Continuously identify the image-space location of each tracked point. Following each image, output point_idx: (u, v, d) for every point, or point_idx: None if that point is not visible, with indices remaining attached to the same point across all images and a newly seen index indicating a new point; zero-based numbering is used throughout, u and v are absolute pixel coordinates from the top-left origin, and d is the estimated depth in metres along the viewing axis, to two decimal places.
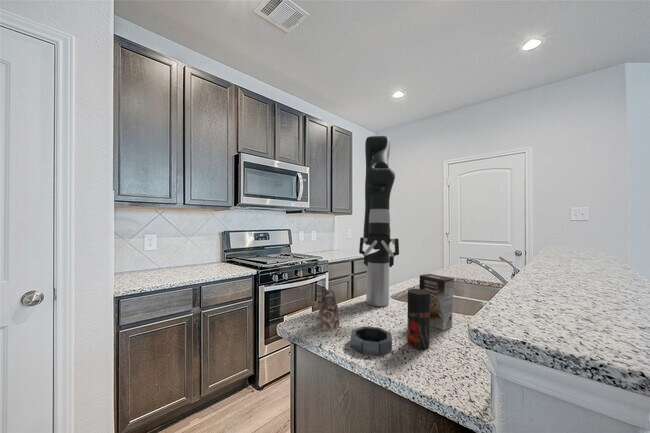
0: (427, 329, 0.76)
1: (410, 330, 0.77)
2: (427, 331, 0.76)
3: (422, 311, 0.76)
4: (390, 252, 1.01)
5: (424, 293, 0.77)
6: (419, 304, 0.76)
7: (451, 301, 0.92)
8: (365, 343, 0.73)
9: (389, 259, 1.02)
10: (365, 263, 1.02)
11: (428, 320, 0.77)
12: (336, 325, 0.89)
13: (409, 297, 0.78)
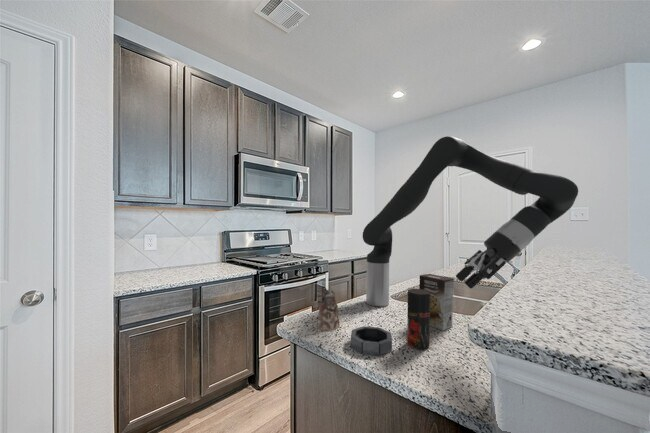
0: (427, 329, 0.76)
1: (410, 330, 0.77)
2: (427, 331, 0.76)
3: (422, 311, 0.76)
4: None
5: (424, 293, 0.77)
6: (419, 304, 0.76)
7: (451, 301, 0.92)
8: (365, 343, 0.73)
9: (463, 271, 0.80)
10: None
11: (428, 320, 0.77)
12: (336, 325, 0.89)
13: (409, 297, 0.78)
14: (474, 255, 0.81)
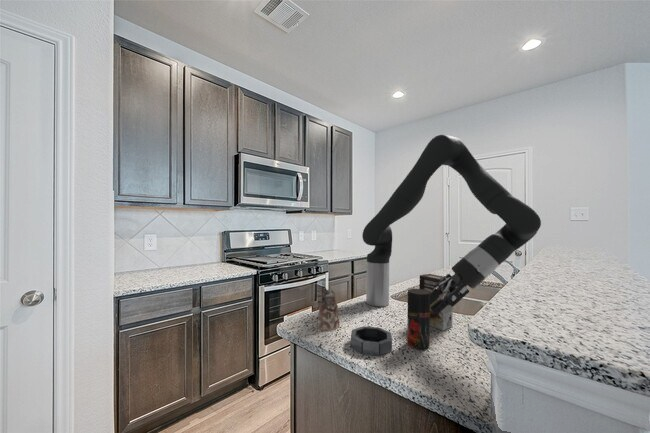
0: (427, 329, 0.76)
1: (410, 330, 0.77)
2: (427, 331, 0.76)
3: (422, 311, 0.76)
4: None
5: (424, 293, 0.77)
6: (419, 304, 0.76)
7: None
8: (365, 343, 0.73)
9: (432, 294, 0.82)
10: None
11: (428, 320, 0.77)
12: (336, 325, 0.89)
13: (409, 297, 0.78)
14: (443, 278, 0.83)
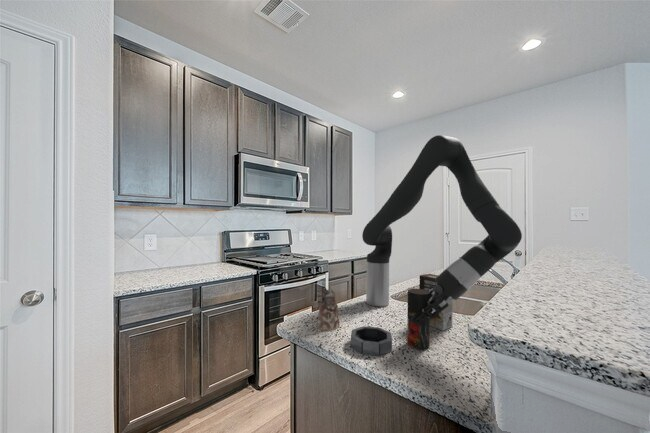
0: (427, 329, 0.76)
1: (410, 330, 0.77)
2: (427, 331, 0.76)
3: None
4: None
5: (424, 293, 0.77)
6: (419, 304, 0.76)
7: (451, 301, 0.92)
8: (365, 343, 0.73)
9: None
10: None
11: (428, 320, 0.77)
12: (336, 325, 0.89)
13: (409, 297, 0.78)
14: None
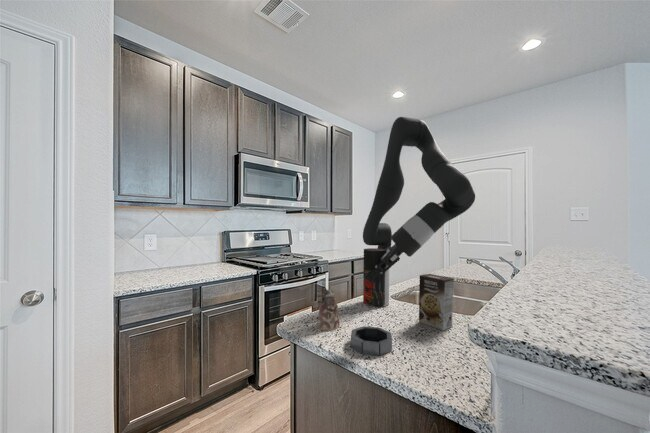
0: (381, 286, 0.76)
1: (365, 288, 0.77)
2: (381, 288, 0.76)
3: None
4: None
5: (379, 250, 0.76)
6: (373, 260, 0.75)
7: (451, 301, 0.92)
8: (365, 343, 0.73)
9: None
10: (371, 279, 0.74)
11: (383, 277, 0.76)
12: (336, 325, 0.89)
13: (364, 255, 0.77)
14: None
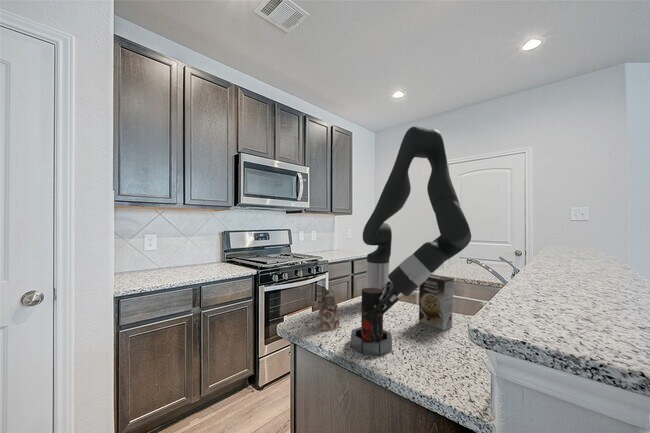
0: (379, 328, 0.76)
1: (363, 329, 0.77)
2: (379, 330, 0.76)
3: None
4: None
5: (376, 292, 0.76)
6: (371, 303, 0.75)
7: (451, 301, 0.92)
8: (365, 343, 0.73)
9: None
10: None
11: (380, 319, 0.76)
12: (336, 325, 0.89)
13: (362, 296, 0.77)
14: (384, 286, 0.83)
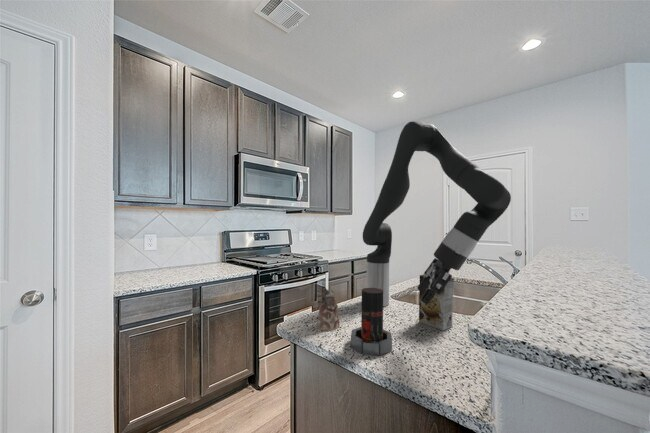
0: (379, 328, 0.76)
1: (363, 329, 0.77)
2: (379, 330, 0.76)
3: (374, 310, 0.75)
4: None
5: (377, 292, 0.76)
6: (371, 303, 0.75)
7: (451, 301, 0.92)
8: (365, 343, 0.73)
9: (423, 282, 0.82)
10: None
11: (380, 319, 0.76)
12: (336, 325, 0.89)
13: (362, 296, 0.77)
14: (431, 264, 0.83)
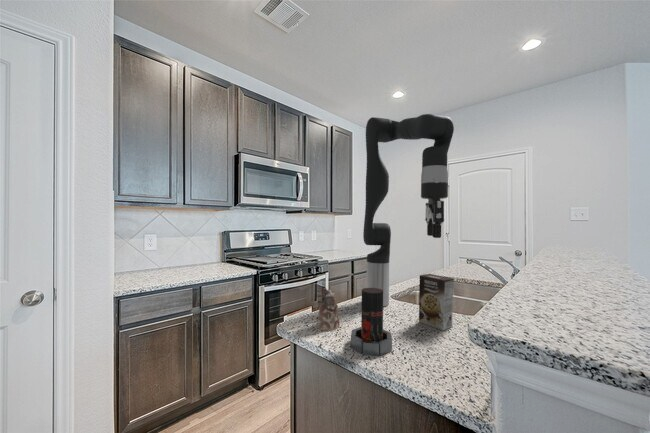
0: (379, 328, 0.76)
1: (363, 329, 0.77)
2: (379, 330, 0.76)
3: (374, 310, 0.75)
4: None
5: (376, 292, 0.76)
6: (371, 303, 0.75)
7: (451, 301, 0.92)
8: (365, 343, 0.73)
9: (429, 227, 0.88)
10: (439, 234, 0.79)
11: (380, 319, 0.76)
12: (336, 325, 0.89)
13: (362, 296, 0.77)
14: None
